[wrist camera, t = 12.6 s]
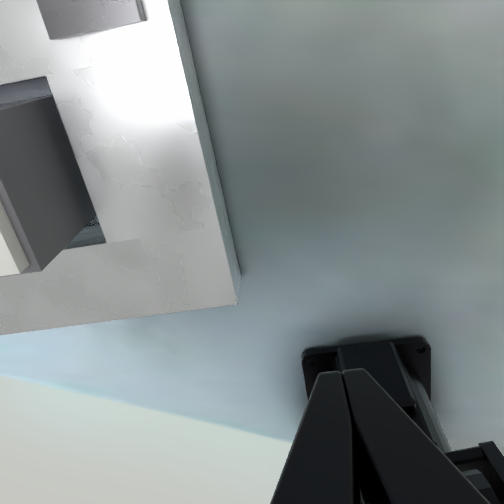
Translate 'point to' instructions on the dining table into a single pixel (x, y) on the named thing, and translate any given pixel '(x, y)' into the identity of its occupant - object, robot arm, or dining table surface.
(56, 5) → the socket plate
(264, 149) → the dining table surface
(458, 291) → the dining table surface
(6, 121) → the plug
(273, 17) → the dining table surface
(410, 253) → the dining table surface
